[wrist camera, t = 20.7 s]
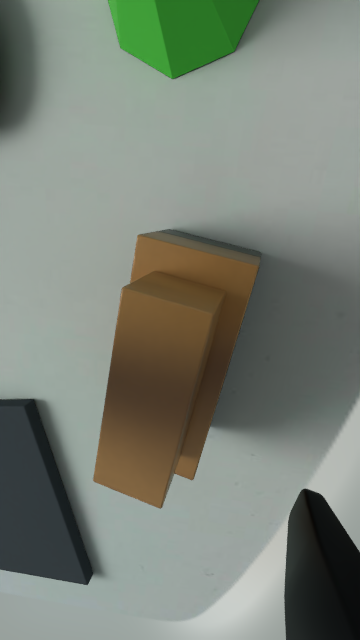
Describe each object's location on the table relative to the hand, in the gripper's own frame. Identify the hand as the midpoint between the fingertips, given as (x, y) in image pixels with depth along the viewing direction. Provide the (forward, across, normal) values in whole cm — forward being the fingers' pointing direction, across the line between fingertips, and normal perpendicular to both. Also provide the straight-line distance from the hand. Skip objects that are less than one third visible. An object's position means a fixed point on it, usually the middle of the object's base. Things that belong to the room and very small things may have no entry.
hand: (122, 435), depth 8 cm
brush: (+7, 0, 0) cm, 7 cm away
